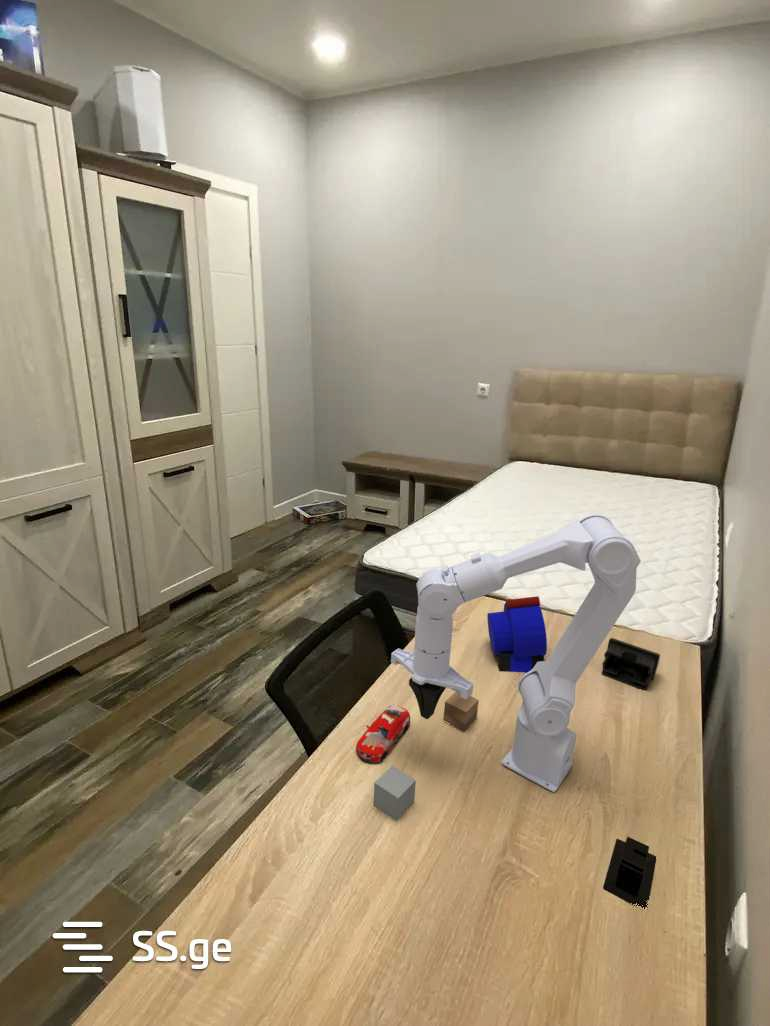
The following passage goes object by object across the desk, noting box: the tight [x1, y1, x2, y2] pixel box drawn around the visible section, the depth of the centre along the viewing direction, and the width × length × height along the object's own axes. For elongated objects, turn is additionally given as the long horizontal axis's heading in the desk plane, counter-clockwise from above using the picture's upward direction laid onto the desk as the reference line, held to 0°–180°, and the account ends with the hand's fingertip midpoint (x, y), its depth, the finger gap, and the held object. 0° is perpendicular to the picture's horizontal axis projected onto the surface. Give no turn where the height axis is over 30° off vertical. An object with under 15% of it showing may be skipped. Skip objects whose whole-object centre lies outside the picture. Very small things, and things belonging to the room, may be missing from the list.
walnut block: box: [442, 691, 480, 733], centre depth 105 cm, size 4×4×4 cm
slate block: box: [372, 765, 417, 822], centre depth 86 cm, size 4×4×4 cm
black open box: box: [602, 835, 657, 909], centre depth 77 cm, size 12×7×5 cm, turn 148°
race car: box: [355, 704, 411, 764], centre depth 99 cm, size 13×5×4 cm, turn 148°
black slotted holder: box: [601, 637, 661, 692], centre depth 120 cm, size 10×7×7 cm
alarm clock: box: [487, 596, 548, 674], centre depth 123 cm, size 12×12×15 cm
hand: (427, 714), depth 93 cm, fingers closed
